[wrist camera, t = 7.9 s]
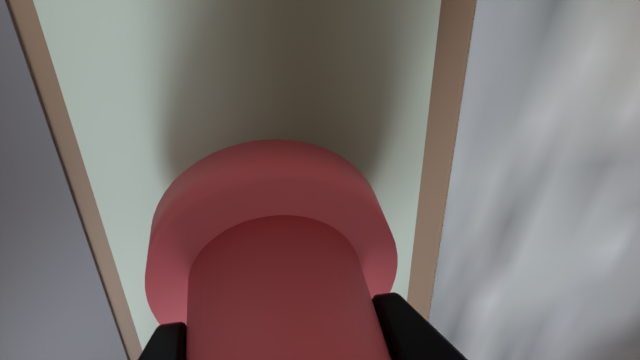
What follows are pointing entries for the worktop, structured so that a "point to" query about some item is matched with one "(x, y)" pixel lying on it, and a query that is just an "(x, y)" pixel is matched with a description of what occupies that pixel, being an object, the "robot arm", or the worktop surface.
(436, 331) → the robot arm
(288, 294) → the pawn
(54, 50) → the game board
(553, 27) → the worktop surface
